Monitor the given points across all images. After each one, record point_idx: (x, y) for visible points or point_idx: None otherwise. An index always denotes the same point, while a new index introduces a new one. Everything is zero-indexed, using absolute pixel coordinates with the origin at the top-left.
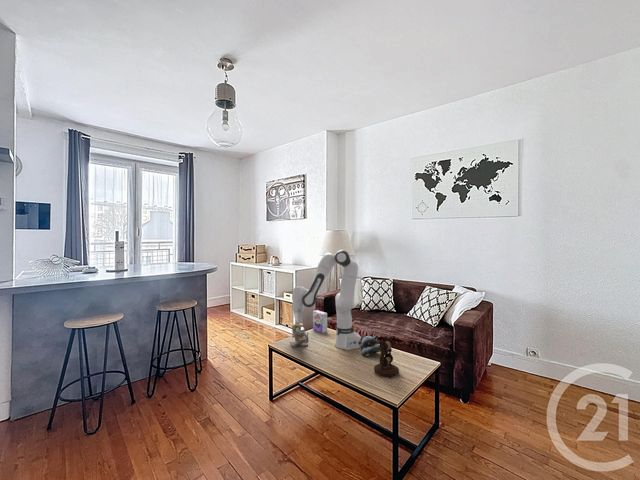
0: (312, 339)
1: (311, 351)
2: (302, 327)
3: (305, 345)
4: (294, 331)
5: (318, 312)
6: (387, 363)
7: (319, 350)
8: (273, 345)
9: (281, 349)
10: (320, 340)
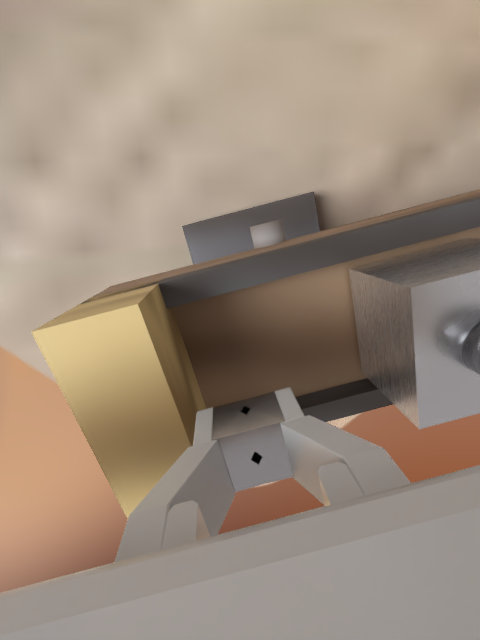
0: (77, 146)
1: (434, 150)
2: (421, 294)
3: (316, 221)
4: (334, 410)
5: None
6: None
7: (425, 48)
8: (260, 485)
9: (345, 418)
10: (99, 21)
